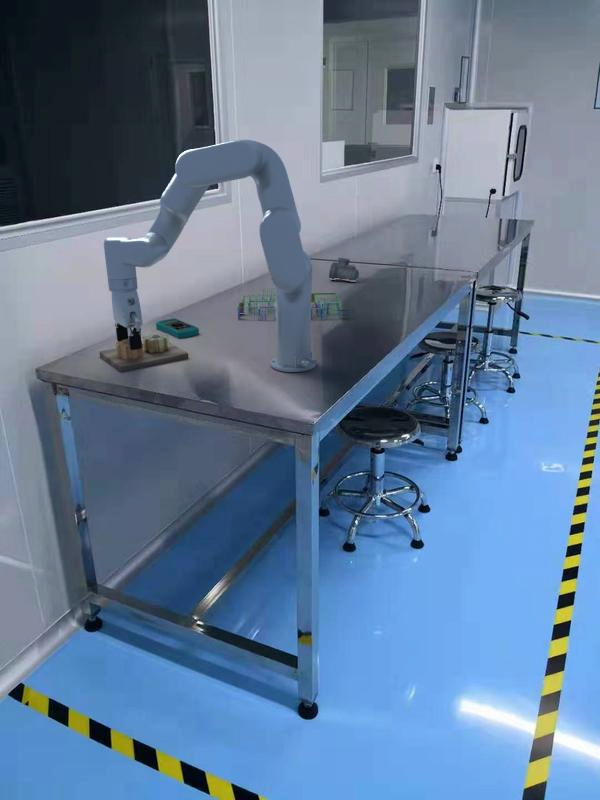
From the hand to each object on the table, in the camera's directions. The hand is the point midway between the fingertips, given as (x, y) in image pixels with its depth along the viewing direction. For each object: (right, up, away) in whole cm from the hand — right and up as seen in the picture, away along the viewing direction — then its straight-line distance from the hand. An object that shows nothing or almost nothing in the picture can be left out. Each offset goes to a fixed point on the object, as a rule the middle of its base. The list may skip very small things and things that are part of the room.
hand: (129, 344), depth 180 cm
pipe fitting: (+67, +35, +99) cm, 124 cm away
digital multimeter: (+8, +6, +28) cm, 30 cm away
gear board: (+3, -3, +4) cm, 6 cm away
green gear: (+6, -1, +5) cm, 8 cm away
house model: (+43, +17, +55) cm, 72 cm away
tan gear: (0, -3, +1) cm, 3 cm away
